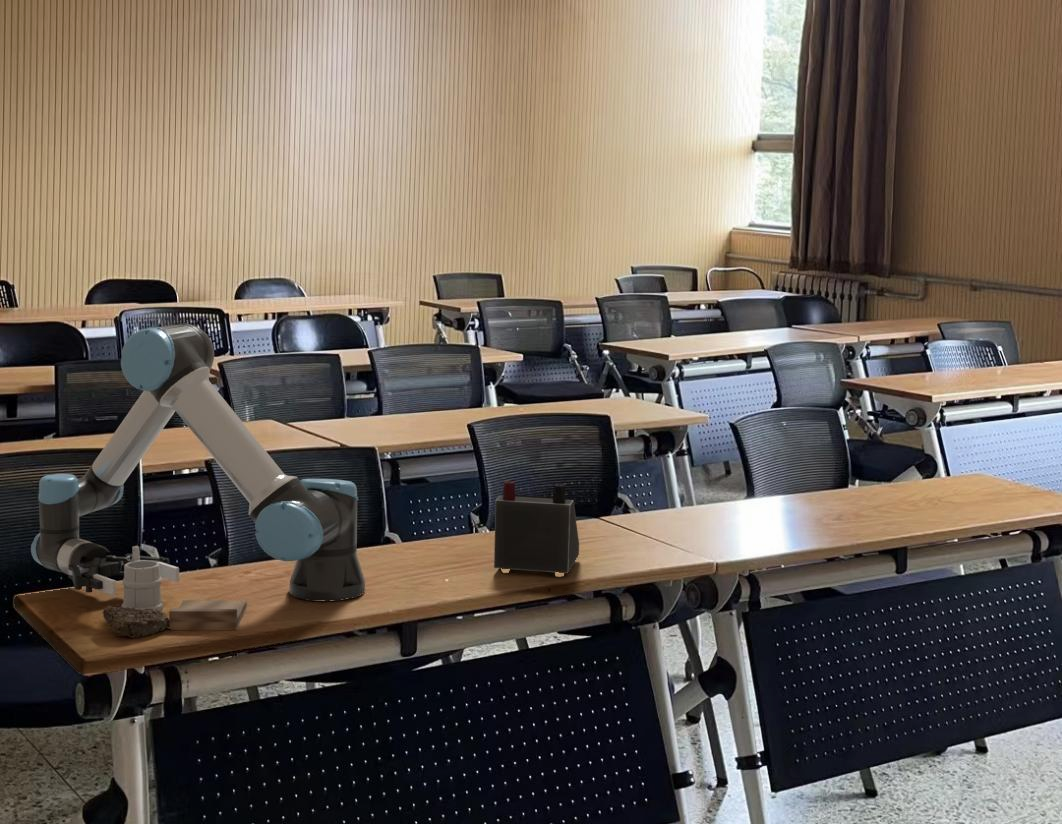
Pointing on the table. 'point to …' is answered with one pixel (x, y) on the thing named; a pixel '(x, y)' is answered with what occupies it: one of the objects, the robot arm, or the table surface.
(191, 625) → the rest board
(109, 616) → the concrete sample
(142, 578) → the mug
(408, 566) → the table surface
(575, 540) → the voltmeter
